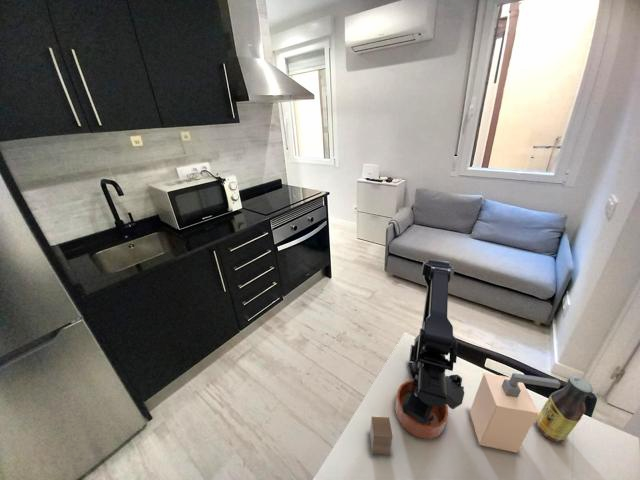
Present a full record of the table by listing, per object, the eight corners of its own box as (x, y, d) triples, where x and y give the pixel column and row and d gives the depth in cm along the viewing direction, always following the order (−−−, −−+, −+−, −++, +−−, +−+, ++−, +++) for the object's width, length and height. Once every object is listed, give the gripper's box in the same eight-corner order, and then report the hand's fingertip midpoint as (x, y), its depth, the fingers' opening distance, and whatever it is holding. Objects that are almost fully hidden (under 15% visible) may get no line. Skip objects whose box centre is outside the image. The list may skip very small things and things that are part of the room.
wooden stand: (369, 434, 69) (371, 416, 65) (386, 435, 68) (389, 417, 65) (371, 453, 65) (373, 435, 61) (389, 455, 64) (392, 436, 61)
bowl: (391, 389, 80) (393, 379, 77) (435, 391, 79) (438, 380, 77) (400, 437, 68) (403, 426, 66) (452, 440, 67) (456, 429, 65)
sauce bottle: (533, 413, 72) (559, 365, 64) (561, 425, 69) (594, 376, 61) (536, 436, 67) (565, 386, 59) (567, 450, 64) (603, 400, 56)
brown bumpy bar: (405, 397, 75) (408, 391, 74) (410, 395, 76) (413, 389, 75) (428, 424, 69) (432, 418, 68) (433, 421, 70) (436, 415, 69)
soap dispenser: (479, 445, 66) (503, 389, 56) (469, 411, 73) (489, 357, 64) (536, 456, 63) (571, 400, 54) (519, 420, 71) (548, 365, 61)
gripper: (456, 419, 54) (443, 458, 61) (471, 357, 67) (459, 395, 74) (404, 389, 60) (397, 428, 67) (428, 338, 74) (420, 375, 80)
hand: (420, 405), depth 72 cm, fingers closed on brown bumpy bar, 2 cm apart
